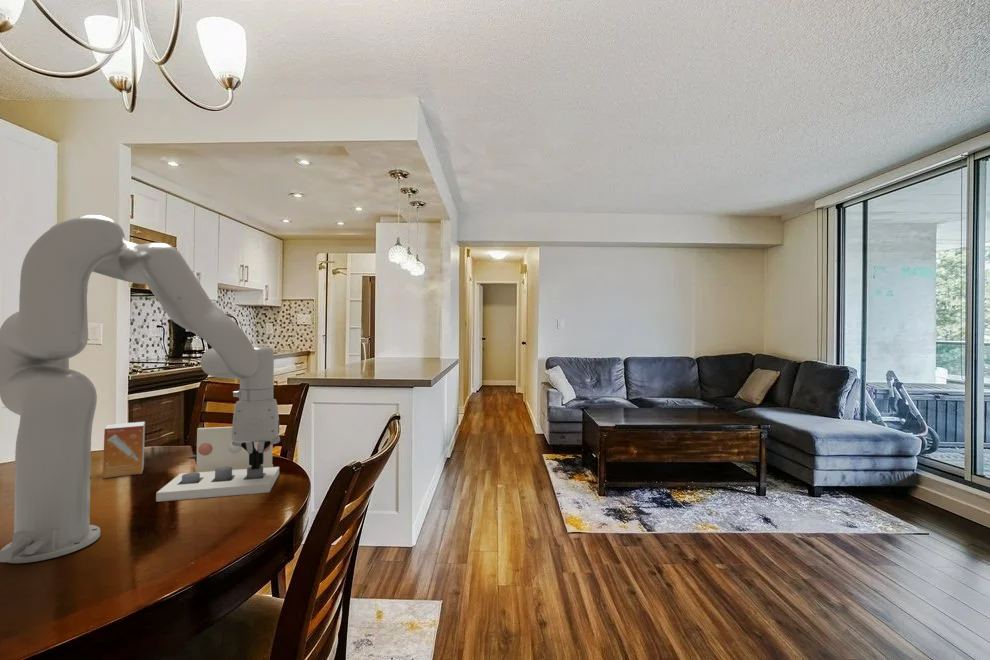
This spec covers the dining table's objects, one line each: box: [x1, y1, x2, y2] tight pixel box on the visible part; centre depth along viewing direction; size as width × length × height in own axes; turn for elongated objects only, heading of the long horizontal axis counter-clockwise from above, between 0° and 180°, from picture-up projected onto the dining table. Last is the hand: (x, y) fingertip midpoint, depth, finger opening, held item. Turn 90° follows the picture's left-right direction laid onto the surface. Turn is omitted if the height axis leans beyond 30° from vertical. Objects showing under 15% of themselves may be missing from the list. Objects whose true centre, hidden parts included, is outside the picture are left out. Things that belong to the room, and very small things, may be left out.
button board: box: [155, 466, 280, 502], centre depth 109 cm, size 14×23×2 cm, turn 107°
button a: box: [182, 472, 200, 484], centre depth 107 cm, size 4×4×3 cm
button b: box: [215, 466, 232, 482], centre depth 109 cm, size 4×4×3 cm
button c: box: [247, 466, 263, 479], centre depth 111 cm, size 4×4×3 cm
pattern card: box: [195, 426, 274, 472], centre depth 120 cm, size 4×18×12 cm, turn 107°
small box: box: [102, 421, 146, 479], centre depth 118 cm, size 8×6×13 cm
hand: (256, 467), depth 111 cm, fingers closed
